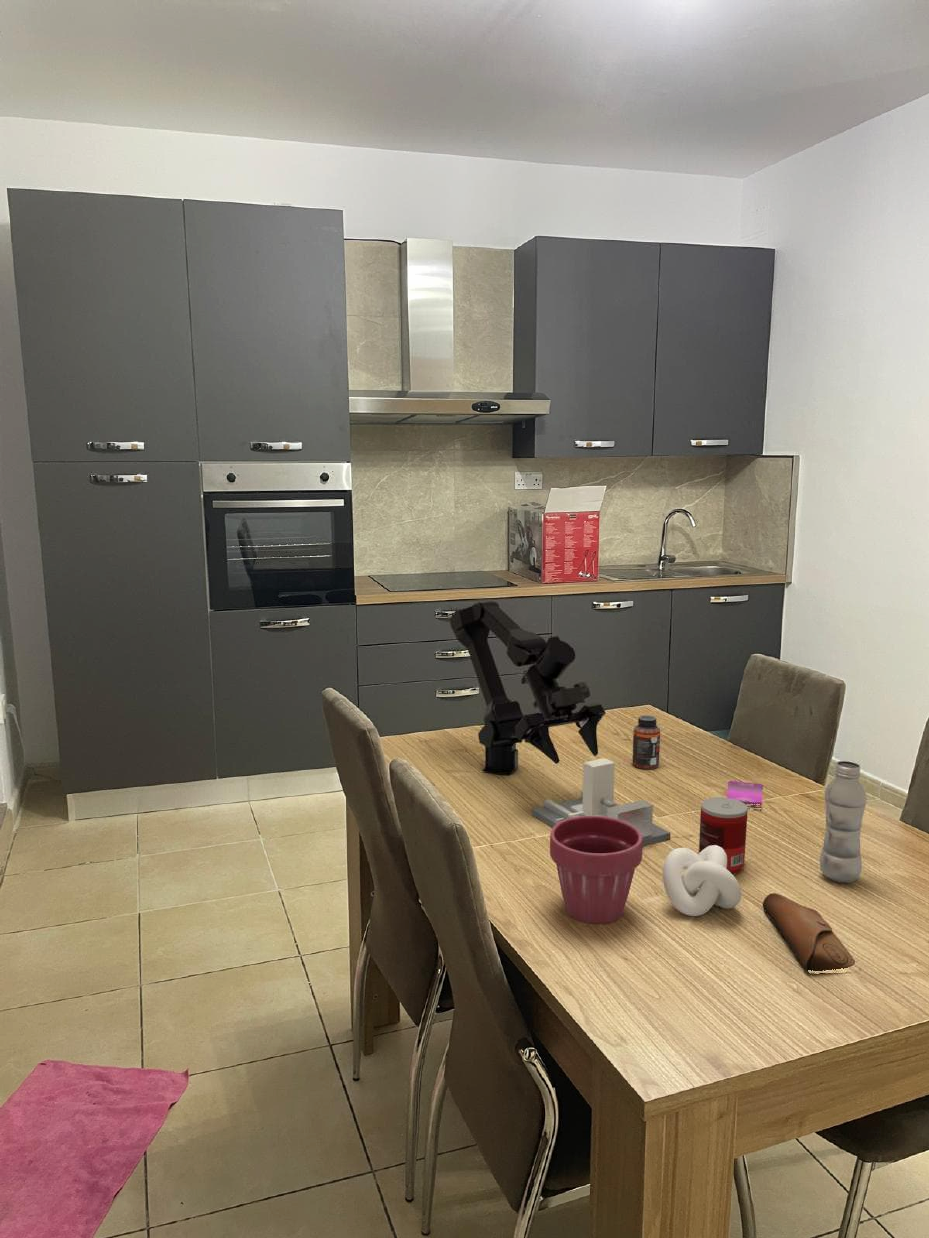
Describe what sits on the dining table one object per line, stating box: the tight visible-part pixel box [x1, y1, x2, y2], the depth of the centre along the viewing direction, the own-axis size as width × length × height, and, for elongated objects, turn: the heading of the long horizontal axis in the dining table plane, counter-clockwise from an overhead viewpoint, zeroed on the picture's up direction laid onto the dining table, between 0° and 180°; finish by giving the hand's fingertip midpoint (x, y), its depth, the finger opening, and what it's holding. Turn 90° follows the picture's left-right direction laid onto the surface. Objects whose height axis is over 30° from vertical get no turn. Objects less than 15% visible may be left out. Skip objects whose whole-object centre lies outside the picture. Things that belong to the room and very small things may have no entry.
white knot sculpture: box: [662, 845, 742, 917], centre depth 144 cm, size 11×12×9 cm
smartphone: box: [725, 780, 764, 812], centre depth 191 cm, size 7×15×1 cm, turn 161°
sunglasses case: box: [762, 892, 856, 971], centre depth 135 cm, size 18×7×7 cm
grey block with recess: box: [607, 799, 654, 839], centre depth 167 cm, size 3×8×6 cm, turn 119°
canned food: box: [698, 796, 748, 875], centre depth 158 cm, size 8×8×11 cm
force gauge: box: [568, 757, 616, 817], centre depth 173 cm, size 8×10×11 cm
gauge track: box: [531, 791, 671, 847], centre depth 175 cm, size 22×16×2 cm
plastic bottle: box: [819, 760, 868, 884], centre depth 152 cm, size 6×7×20 cm
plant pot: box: [549, 816, 644, 925], centre depth 142 cm, size 14×14×13 cm
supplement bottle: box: [632, 715, 661, 770], centre depth 207 cm, size 6×6×11 cm
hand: (577, 758), depth 179 cm, fingers open, 9 cm apart
